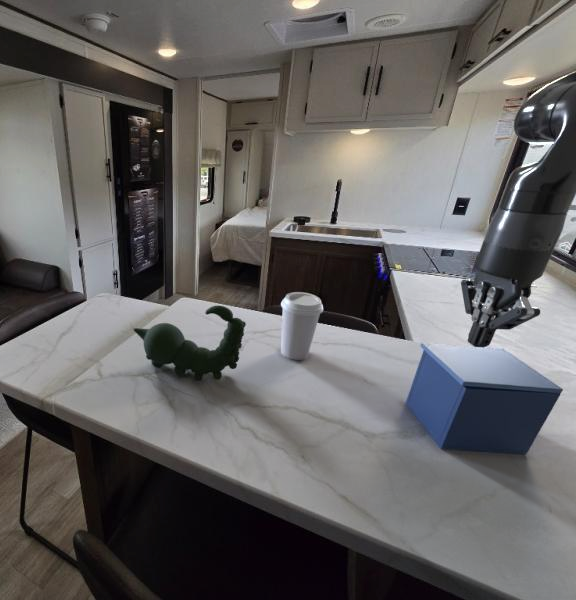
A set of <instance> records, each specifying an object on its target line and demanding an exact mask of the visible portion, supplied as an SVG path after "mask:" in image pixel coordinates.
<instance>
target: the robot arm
mask: <svg viewBox="0 0 576 600" xmlns="http://www.w3.org/2000/svg"><path fill="white" fill-rule="evenodd" d="M513 131H514V134H515V135H516V137H517V138H519V139H520V140H521V141H523V142H525V143H529V144H537V145H546V144H548V145H549V144H550V147H549V148H548V149H547V151H546V152H545V153H544V155H543V156H542V157H541V158H540V160H538V161H537V162H533V163H532V162H531V163H526V164H524V165H520V166H518V167H516V168H515V169H514V170H513V171H512V172H511V173H510V175H509V177H508V179H507V182H506V184H505V187H504V189H503V191H502V195H501V198H500V201H499V204H498V207H497V208H496V210H495V213H494V215H493V216H492V218H491V220H490V222H489V225H488V227H487V230H486V233H485V235H484V238H483V241H482V244H481V247H480V249H479V251H478V255H477V257H476V260H475V263H474V267H475V269H476V270H478V271H477V272H476V274H475V276H474V277H473V278H471V279H462V280H461V281H460V287H461V292H462V293H461V294H462V298H463V306H464V311H465V313H466V315H470V316H471V321H472V325H471V328H470V330H469V333H468V338H467V343H469V344H470V345H471V346H472V347H485V348H488V347H489V345H491V343H492V340H493V338H494V336H495V333H496V331H497V330H505V331H506V330H507V331H510V330H512V329H515V328H516V327H518V326H521V325H522V324H524V323H527V322H529V321H530V320H532V319H534V318H536V317H539V316H540V315H541V309H540V308H539V307H533V306H532V305H531V302H530V301H529V298H530V297H531V295H532V284H533V283H534V282H535V281H537V280H539V279H540V278H542V276H543V275H544V273H545V271H546V269H547V266H548V264H549V261H550V260H551V258H552V255H553V254H554V251H555V248H556V246H557V244H558V242H559V240H560V238H561V235H562V233H563V230H564V226H565V223H566V219H567V215H568V213H569V211H570V209H571V207H572V204H573V202H574V200H575V198H576V71H573V72H571V73H568V74H567V75H565V76H562V77H560V78H558V79H556V80H554V81H552V82H551V83H548V84H546V85H545V86H543V87H542V88H540V89H538V90H537V91H536V92H534V93H533V94H531V96H529V98H528V99H526V101H525V102H524V103H522V105H521V106H520V107H519V109H518V110H517V112H516V114H515V117H514V120H513Z"/></svg>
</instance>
